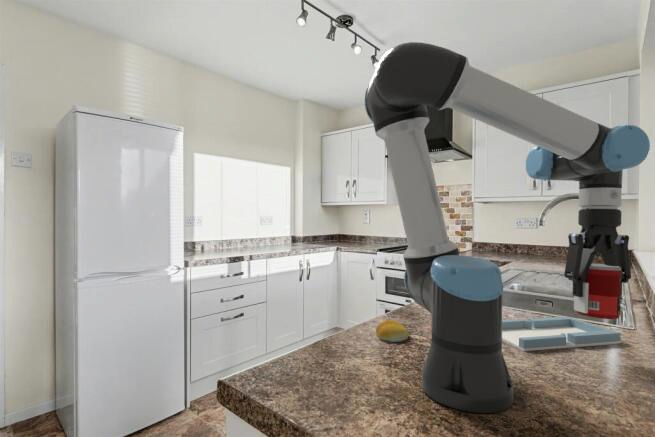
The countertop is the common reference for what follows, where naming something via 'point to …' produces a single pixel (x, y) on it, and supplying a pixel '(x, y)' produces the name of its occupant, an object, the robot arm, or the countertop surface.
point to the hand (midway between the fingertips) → (596, 311)
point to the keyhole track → (555, 333)
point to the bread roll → (392, 331)
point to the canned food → (603, 291)
